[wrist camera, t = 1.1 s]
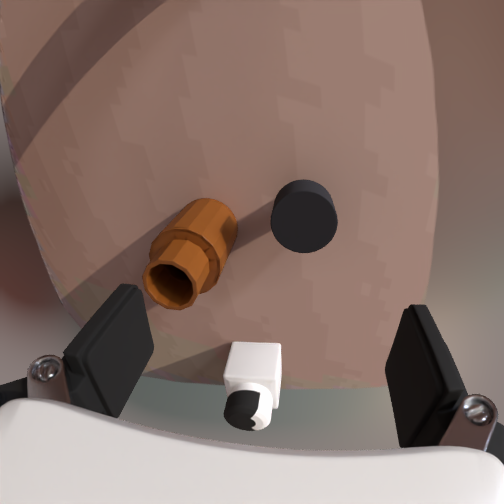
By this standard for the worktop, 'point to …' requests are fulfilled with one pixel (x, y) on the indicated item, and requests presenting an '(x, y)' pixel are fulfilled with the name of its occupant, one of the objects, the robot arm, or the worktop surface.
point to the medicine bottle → (252, 384)
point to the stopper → (303, 216)
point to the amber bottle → (190, 254)
